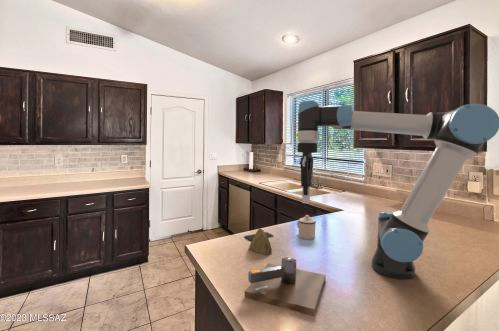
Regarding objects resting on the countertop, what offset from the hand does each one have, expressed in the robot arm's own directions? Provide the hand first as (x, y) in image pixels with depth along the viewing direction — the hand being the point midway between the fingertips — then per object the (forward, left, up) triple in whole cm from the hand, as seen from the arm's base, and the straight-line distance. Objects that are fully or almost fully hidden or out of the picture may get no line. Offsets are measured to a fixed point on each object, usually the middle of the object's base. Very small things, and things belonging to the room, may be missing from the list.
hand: (305, 202), depth 102 cm
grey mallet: (+6, +20, -24) cm, 32 cm away
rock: (+22, -8, -27) cm, 36 cm away
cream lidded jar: (+8, -38, -27) cm, 47 cm away
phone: (+30, -26, -27) cm, 48 cm away
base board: (+2, +17, -26) cm, 31 cm away
